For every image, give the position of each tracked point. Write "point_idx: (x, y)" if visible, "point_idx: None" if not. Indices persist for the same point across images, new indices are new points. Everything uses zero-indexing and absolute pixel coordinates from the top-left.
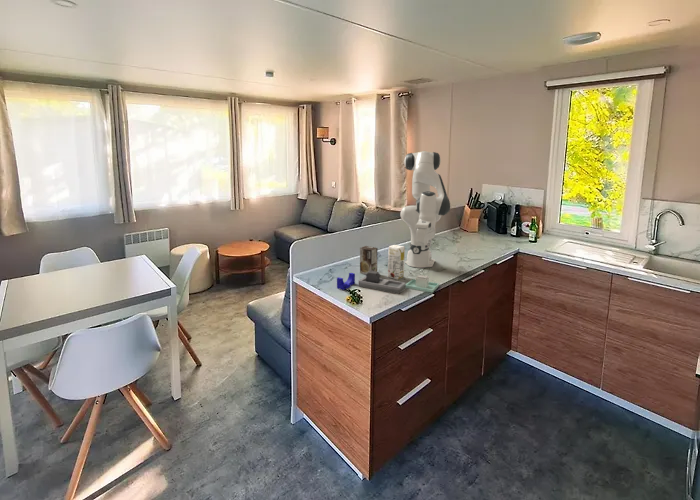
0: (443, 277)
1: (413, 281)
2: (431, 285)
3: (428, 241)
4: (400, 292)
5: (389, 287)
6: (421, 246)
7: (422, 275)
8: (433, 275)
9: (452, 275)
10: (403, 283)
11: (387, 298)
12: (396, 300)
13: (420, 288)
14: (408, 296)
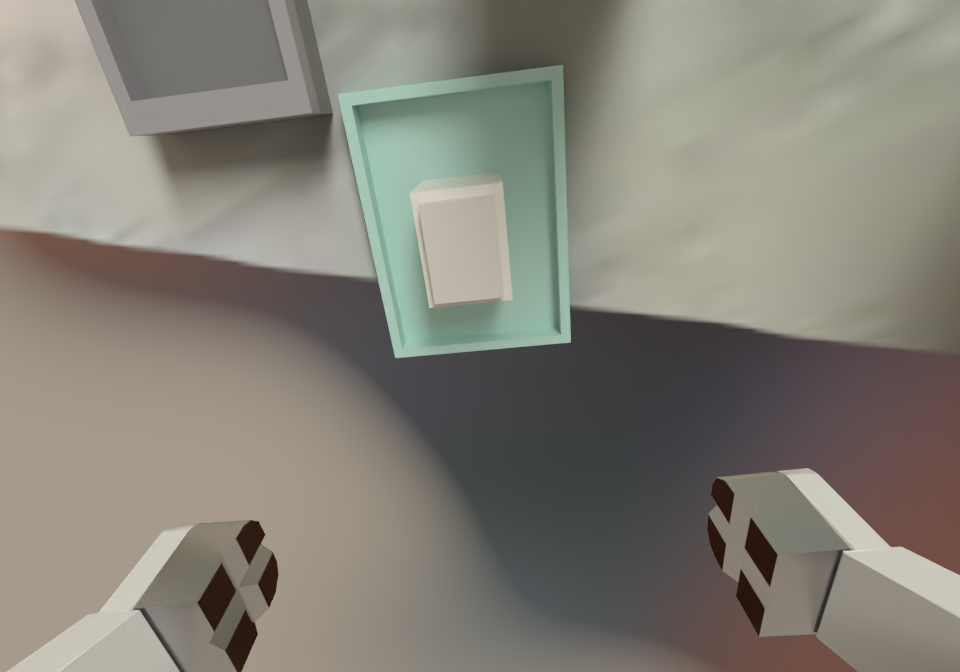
0: (818, 279)
1: (548, 88)
2: (536, 285)
3: (926, 634)
4: (208, 129)
5: (87, 10)
6: (83, 630)
7: (491, 239)
8: (855, 173)
9: (907, 322)
10: (277, 101)
11: (5, 102)
12: (48, 195)
13: (376, 258)
14: (195, 234)
